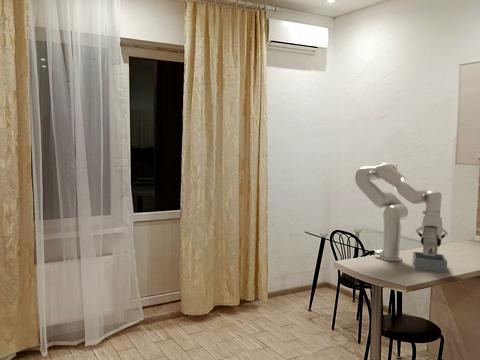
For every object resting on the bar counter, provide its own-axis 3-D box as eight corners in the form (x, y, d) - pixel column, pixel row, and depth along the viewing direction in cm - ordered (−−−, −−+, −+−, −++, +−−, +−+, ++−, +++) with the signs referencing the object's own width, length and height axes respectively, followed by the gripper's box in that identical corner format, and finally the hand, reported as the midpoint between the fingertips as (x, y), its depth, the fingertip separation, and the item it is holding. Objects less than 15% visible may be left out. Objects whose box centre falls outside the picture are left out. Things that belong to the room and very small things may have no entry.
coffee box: (425, 251, 250) (427, 223, 249) (437, 253, 247) (439, 225, 245) (422, 254, 242) (424, 225, 241) (435, 256, 239) (437, 227, 237)
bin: (414, 269, 240) (415, 258, 240) (412, 261, 255) (413, 251, 255) (446, 272, 235) (447, 261, 235) (442, 265, 250) (443, 254, 250)
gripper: (416, 213, 242) (414, 245, 243) (451, 216, 236) (448, 248, 238) (415, 211, 249) (413, 242, 250) (449, 214, 244) (446, 245, 245)
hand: (430, 245), depth 244 cm, fingers closed on coffee box, 7 cm apart
